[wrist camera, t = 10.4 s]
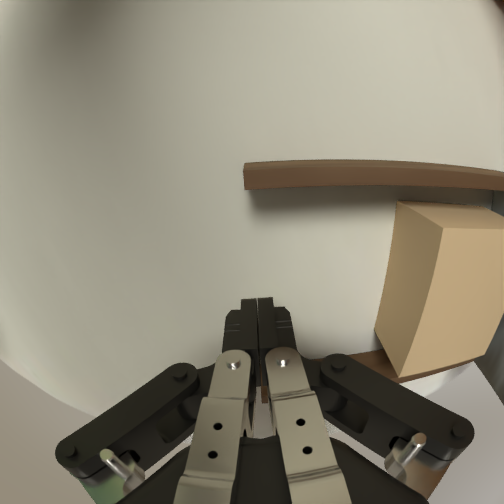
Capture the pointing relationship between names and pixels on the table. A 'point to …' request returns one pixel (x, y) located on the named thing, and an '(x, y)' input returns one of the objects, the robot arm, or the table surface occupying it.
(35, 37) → the table surface
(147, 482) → the robot arm
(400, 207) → the carton
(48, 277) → the table surface
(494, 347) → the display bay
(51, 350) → the table surface
